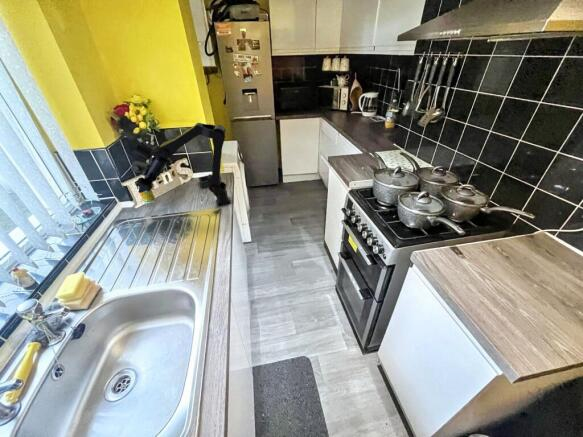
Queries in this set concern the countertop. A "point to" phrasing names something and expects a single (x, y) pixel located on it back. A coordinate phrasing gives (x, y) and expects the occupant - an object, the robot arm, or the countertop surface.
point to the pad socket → (204, 181)
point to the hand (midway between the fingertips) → (141, 189)
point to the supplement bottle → (147, 196)
